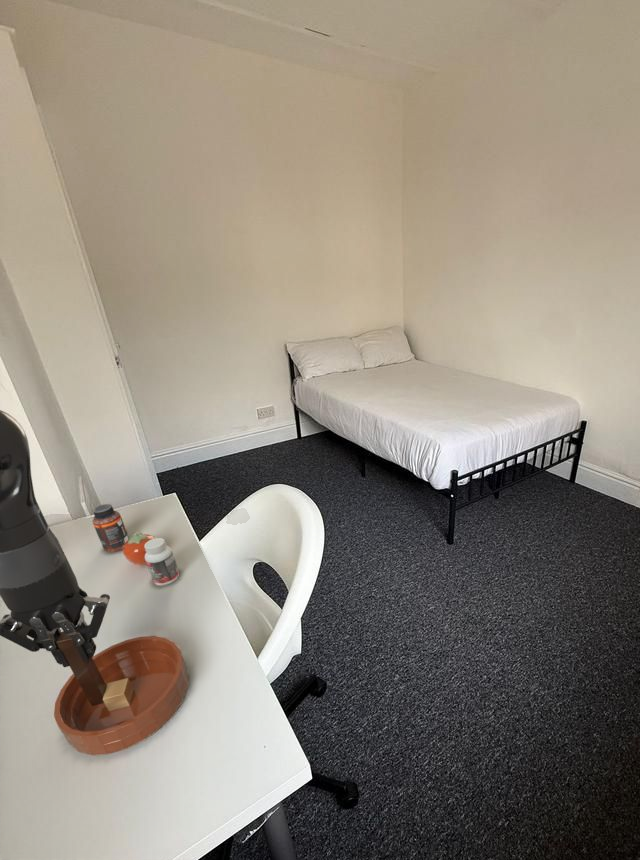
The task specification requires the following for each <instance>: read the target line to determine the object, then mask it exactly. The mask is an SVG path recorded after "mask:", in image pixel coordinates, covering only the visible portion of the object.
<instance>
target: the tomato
mask: <svg viewBox="0 0 640 860" xmlns="http://www.w3.org/2000/svg"><path fill="white" fill-rule="evenodd" d="M155 538H156V537H155V536H154V535H151V534H147V533H143V532H140V533H139V532H133V535H131V536H129V540H127V541H126V543H125V544H124V545H123V549H121V551H122V554H123V556H124V558H125V559H126V560H127V561H128V562H130V563H132V564H133V565H136V566H145V565H147V563H146V561H145V554H146V551H145V547H144V545H145V544H146V542H148V541H149V540H152V539H155Z"/></svg>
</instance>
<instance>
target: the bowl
mask: <svg viewBox="0 0 640 860" xmlns="http://www.w3.org/2000/svg"><path fill="white" fill-rule="evenodd" d="M92 659H93V661H94V662H95V664H96V666H97V668H98V670H99V672H100V674H101V676H102V678H103V680H104V682H105V684H106V686H107V684H108V683H110V682H114V681H118V680H122V679H126V678H129V681H130V683H131V685H132V687H133V689H134V691H133V695H132V700H131V704H130V706H128V707H124V708H120V709H117V710H113V711H108V709H107V707H106V705H105V703H102V704H99V705H95V706H91V704H90V702H89V700H88V698H87V697H86V695H85V693H84V691H83V689H82V688H81V686H80V684H79V682H78V680H77V679H76V677H75V675H74V673H72V675H70V677H68V679H67V681H66V682H65V684H64V685H63V686H62V687H61V689H60V691H59V693H58V695H57V698H56V700H55V702H54V709H53V717H54V719H55V723H56V725H57V727H58V729H59V731H60V732H61V733H62V735H63V736H64V738H65V740H66V741H67V744H68V745H70V746H71V747H72V748H73V749H74V750H76V751H77V752H79V753H82V754H86V755H89V756H100V755H110V754H114V753H117V752H120V751H123V750H126V749H128V748H129V749H130V747H132V746H135V745H136V744H138V743H141V742H142V741H144V740H146V739H147V738H148V737H150V736H151V735H152V734H154V733H155V732H157V731H158V730H159V729H161V728H162V727H163V726H164V725H165V724H166V723H167V722H168V721H169V720H170V719H171V718H172V717H173V715H174V714H175V713H176V711H177V710H178V708H179V707H180V705H181V704H182V703H183V701H184V699H185V696H186V693H187V691H188V689H189V681H190V674H189V671H188V666H187V663H186V660H185V658H184V656H183V653H182V650H181V649H180V647H179V646H178V644H176V642H174V641H172V640H171V639H169V638H167V637H163V636H157V635H145V636H144V635H143V636H138V637H133V638H128V639H125V640H123V641H120V642H117V643H116V644H112V645H111V646H108V647H107V648H105V649H103V650H101V651H100V652H98V653H97V654H94V656H93V657H92Z"/></svg>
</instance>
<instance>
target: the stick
mask: <svg viewBox="0 0 640 860" xmlns="http://www.w3.org/2000/svg"><path fill="white" fill-rule="evenodd" d="M56 643H57V645H58V646H59V648H60V649H61V651H62V653H63V654H64V656H65V658H66V660H67V662H68V663H69V665H70V666H69V668H70V670H71V672H72V674H74V675H75V677H76V679H77V680H78V682H79V684H80V686H81V688H82V689H83V691H84V693H85V695H86V697H87V698H88V700H89V702H90V704H91V706H95V705H99V704H102V703H104V701H103V696H104V693H105V690H106V687H107V686H106V684H105V682H104V680H103V678H102V676H101V674H100V672H99V670H98V668H97V666H96V664H95V662H94V661H93V659H91V661H89V662H83V660H82V658H81V656H80V654H79V652H78V650H77V649H76V647H75V645H76V644H75V643H74V641H73V640H72V638H71V637H70V635H68V636H67V635H66V634H65V633H64V631H63V630H62V631H61V634H60V636H59V638H58V640H57V642H56Z"/></svg>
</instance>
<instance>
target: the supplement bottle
mask: <svg viewBox="0 0 640 860" xmlns="http://www.w3.org/2000/svg"><path fill="white" fill-rule="evenodd" d="M92 511H93V518H92V521H91V522H92V525H93V527H94V530H95V533H96V535H97V537H98V540H99V542H100V544H101V546H102V548H103V550H104V551H105V552H108V553H113V552H114V553H115V552H118V551H122V550H123V545H124V544H125V543H126V541H127V540H129V539H130V536H129V533H128V531H127V529H126V526H125V523H124V521H123V518H122V515H121V514H120V512H119V511H117V510H115V509H114V507H113V505H112V504H110V503H104V504H100V505H98V506H96V507H94V509H92Z"/></svg>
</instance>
